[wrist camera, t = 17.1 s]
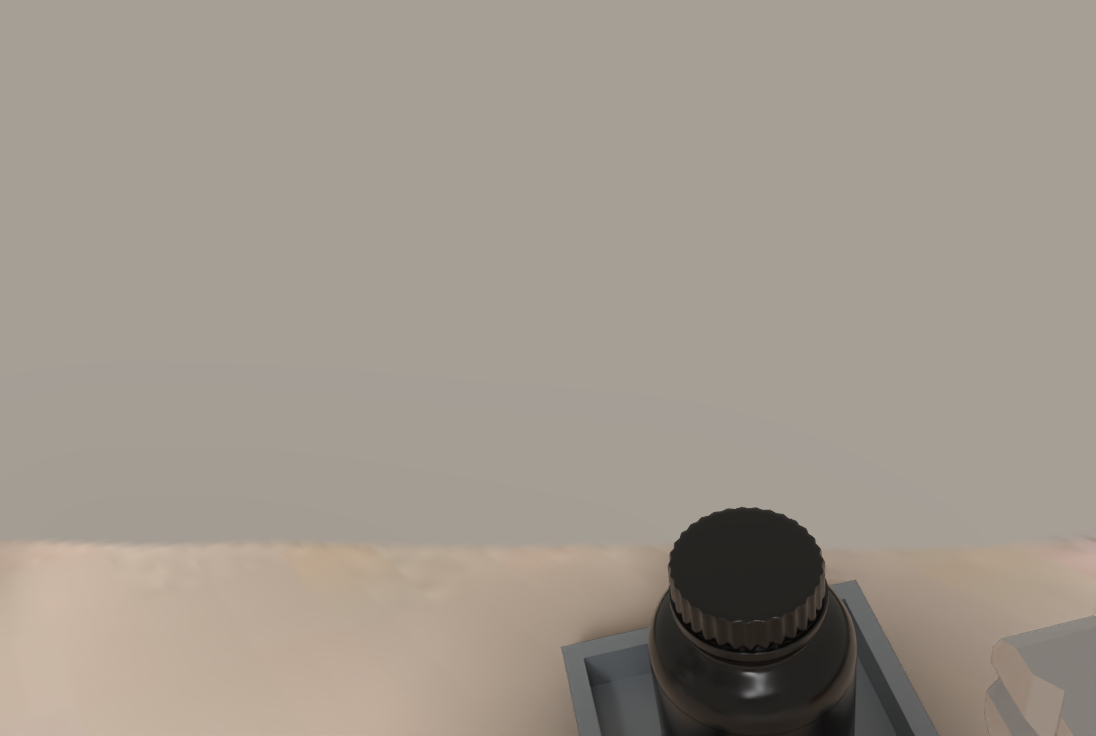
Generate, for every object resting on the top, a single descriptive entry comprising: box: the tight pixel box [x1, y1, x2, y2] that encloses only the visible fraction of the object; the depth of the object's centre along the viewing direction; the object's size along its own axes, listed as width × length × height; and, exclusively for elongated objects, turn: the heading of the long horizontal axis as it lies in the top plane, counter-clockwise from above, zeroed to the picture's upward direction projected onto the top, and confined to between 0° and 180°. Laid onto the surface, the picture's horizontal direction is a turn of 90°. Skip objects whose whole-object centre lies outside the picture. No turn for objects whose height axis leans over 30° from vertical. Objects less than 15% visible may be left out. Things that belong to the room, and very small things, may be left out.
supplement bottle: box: [648, 507, 857, 736], centre depth 36 cm, size 7×7×12 cm
